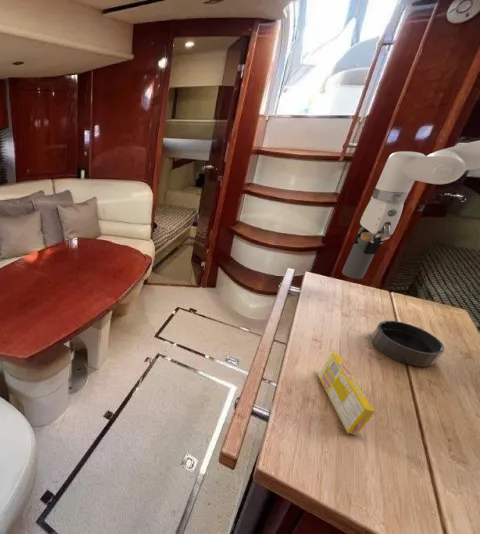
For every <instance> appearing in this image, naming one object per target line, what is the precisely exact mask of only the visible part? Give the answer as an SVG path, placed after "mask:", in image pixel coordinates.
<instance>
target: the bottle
mask: <svg viewBox="0 0 480 534" xmlns="http://www.w3.org/2000/svg"><path fill="white" fill-rule="evenodd" d="M371 235H372V233H371V232H362V233H361V237H359V238H358V240H357V241H358V242H359V243H357V244H354V243H353V245H352V248H351V250H350V252H349V254H348V256H347V258H346V261H345V264H344V266H343V268H342V270H341V273H342V275H343V276H345V277H348V278H350V279H356V280H360V279H363V278H364V277H365V274H366V273H367V271H368V269H369V267H370V265H371V262H372V261H373V258H374V256H375V254H364V253H363V252H364V249H365V247H366V245H367V243H368V242H370V239H371ZM377 237H380V235H376V237H375V238H377Z"/></svg>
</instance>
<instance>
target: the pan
mask: <svg viewBox="0 0 480 534" xmlns="http://www.w3.org/2000/svg"><path fill="white" fill-rule="evenodd" d="M370 340H371V343H372V344H373V346H374V347H375V348H377V349H378V351H380V352H381V353H383V354H384V355H385V356H387V357H389V358H391V359H392V360H395V361H398V362H400V363H403V364H407V365H410V366H414V367H415V366H416V367H430V366H432V365H435V363H436V362H437V361H438V359H439V358H440V357H441V356H442V354H443V353H444V351H445V346H444V344H443V343H442V341H441V340H439V339H438V337H437V336H435V335H434V334H432V333H430V332H428V331H427V330H424V329H422V328H420V327H418V326H415V325H412V324H409V323H405V322H402V321H398V320H397V321H396V320H384V321H383V320H382V321H381V322H379V323H378V325H377V326H376V328H375V329H374V331H373V333H372V334H371V336H370Z"/></svg>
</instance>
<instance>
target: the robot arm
mask: <svg viewBox="0 0 480 534" xmlns="http://www.w3.org/2000/svg"><path fill="white" fill-rule="evenodd" d="M475 169H480V139H479V140H475V141H470V142H467V143H461V144H459V145H455V146H451V147H447V148H443V149H440V150H437V151H434V152H432V153H429V154H428V155H425V154H424V153H422V152H417V151H395V152H392V153H391V154H390V155H389V157H388V158H387V160H386V162H385V164H384V167H383V169H382V172H381V173H380V176H379V179H378V181H377V183H376V186H375V187H374V190H373V193H372V195H371V197H370V200H369V202H368V204H367V206H366V207H365V209H364V210H363V213H362V216H361V218H360V219H359V229H358V231H357V235H356V237H355V239H354V241H353V245H354V244H357V243H359V242H358V241H357V240H358V238H359V237H361V233H362V232H370V233H372V235H371V239H370V242H368V243H367V245H366V247H365V249H364V252H363V253H364V254H374V255H376V254H377V253H378V251H379V249H380V247H381V245H382V244H383V243H384V242H386V241H388V240H389V239H390V238H391V236H393V234H394V232H395V230H396V228H397V225H398V224H399V221H400V219H401V216H402V213H403V209H404V203H405V201H406V200H407V197H408V195H409V193H410V191H411V189H412V187H413V185H414V184H415V182H416V181H417V182H422V183H427V184H432V185H446V184H451V183H453V182H455V181H457V180H459V179H460V178H461V177H462V176H463V175H464V174H465V172H466V171H470V170H475ZM376 235H380V237H377V238H375V237H376Z"/></svg>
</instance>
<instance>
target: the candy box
mask: <svg viewBox="0 0 480 534" xmlns="http://www.w3.org/2000/svg"><path fill="white" fill-rule="evenodd" d="M317 376H318V378H319V380H320V382H321V384H322V386H323V388H324V390H325V393H326V394H327V396H328V398H329V400H330V402H331V404H332V406H333V408H334V410H335V412H336V414H337V416H338V418H339V420H340V422H341V423H342V426H343V427H344V430H345V431H346V434H348V435H349V434H350V435H353V436H357V435H358V433H359V432H360V431H361V430H362V429H363V428H364V426H365V425H366V424H367V423H368V421H369V420H370V419H371V417H373V415H374V414H375V413H376V411H375V409H374V408H373V406H372V404H371V403H370V401H369V400H368V398H367V397H366V395H365V393H364V391H363V390H362V389H361V387H360V386H359V384H358V382H357V381H356V379H355V378H354V376H353V374H352V373H351V371H350V369H349V367H348V366H347V365H346V364H345V362H344V360H343V358H342V357H341V355H340V354H339V353H337V352H330V354H329V356H328V358H327V359H326V361H325V363H324V364H323V366H322V368H321V369H320V371H319V373H318V374H317Z"/></svg>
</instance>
